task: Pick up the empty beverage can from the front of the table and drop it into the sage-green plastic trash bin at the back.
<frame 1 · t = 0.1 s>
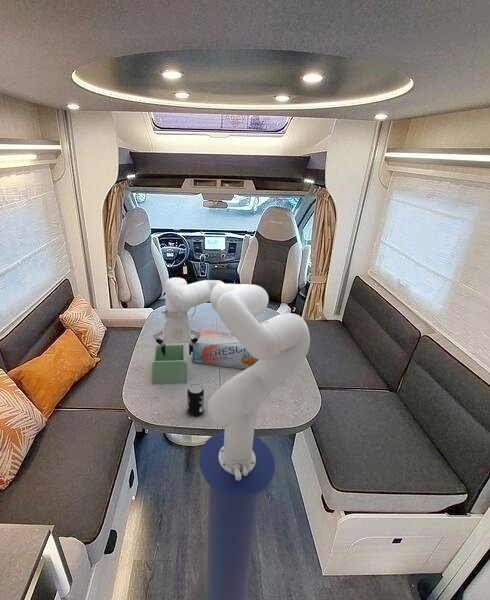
hand: (177, 353, 117), 28 cm above the table, tool pointing down, fingers open, 9 cm apart
beverage can: (195, 412, 128), on the table
soda box: (232, 361, 163), on the table
trash bin: (170, 373, 152), on the table
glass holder: (185, 324, 199), on the table
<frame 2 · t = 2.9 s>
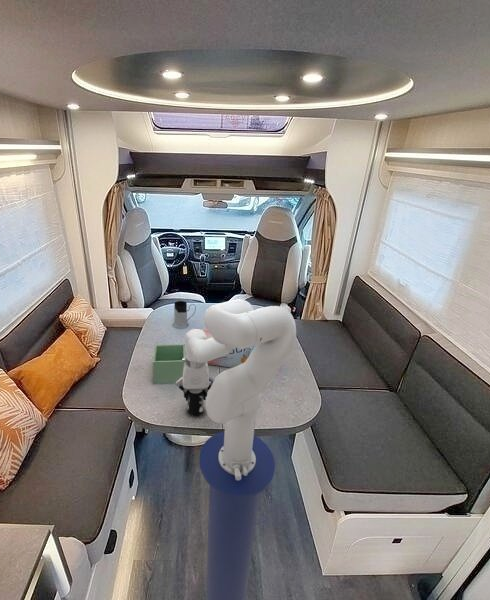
hand: (195, 397, 125), 7 cm above the table, tool pointing down, fingers closed on beverage can, 6 cm apart
beverage can: (195, 412, 128), on the table, touching gripper
everything else where it was.
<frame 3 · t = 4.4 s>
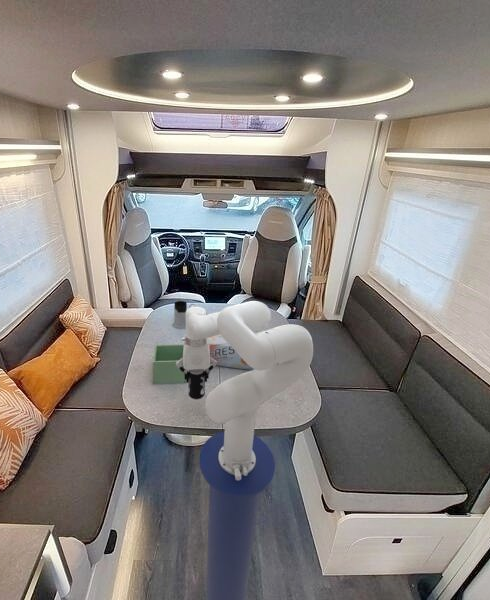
hand: (196, 379, 121), 16 cm above the table, tool pointing down, fingers closed on beverage can, 6 cm apart
beverage can: (196, 395, 124), point 9 cm above the table, touching gripper
everything else where it was.
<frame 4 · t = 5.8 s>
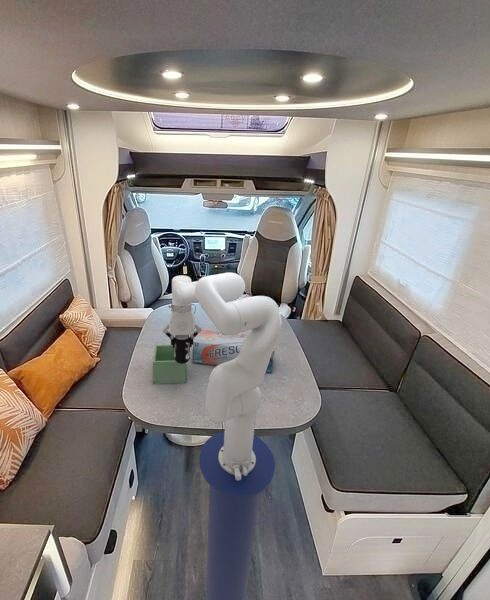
hand: (182, 345, 130), 24 cm above the table, tool pointing down, fingers closed on beverage can, 6 cm apart
beverage can: (182, 360, 133), point 17 cm above the table, touching gripper
everything else where it was.
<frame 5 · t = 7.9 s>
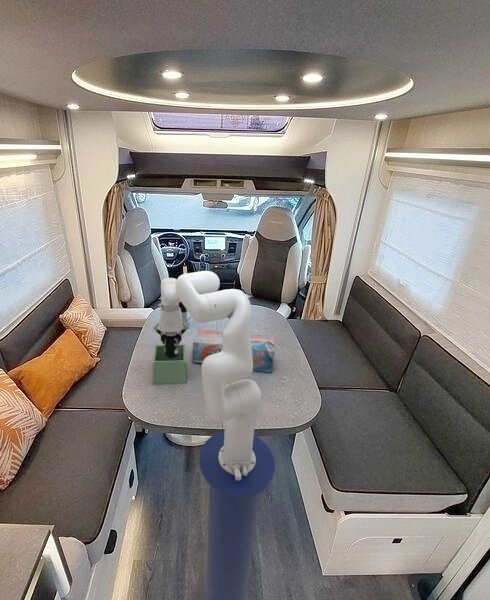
hand: (171, 341, 142), 19 cm above the table, tool pointing down, fingers closed on beverage can, 6 cm apart
beverage can: (171, 355, 145), point 12 cm above the table, touching gripper
everything else where it was.
when the fingers open (17 cm above the table, at t = 9.0 s): beverage can drops 9 cm, resting on trash bin.
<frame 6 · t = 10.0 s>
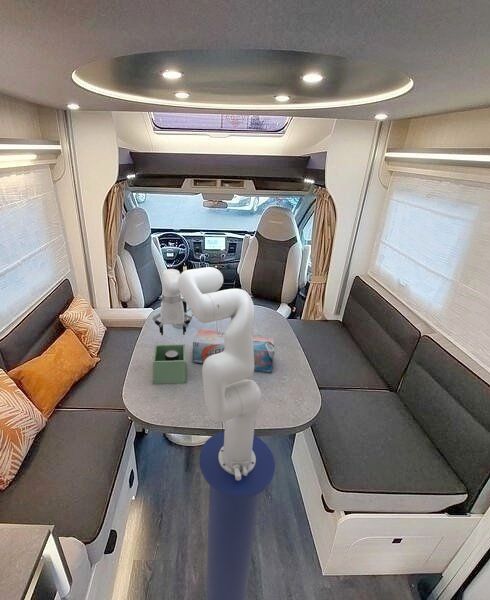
hand: (173, 333, 140), 24 cm above the table, tool pointing down, fingers open, 9 cm apart
beverage can: (172, 375, 149), point 1 cm above the table, touching trash bin
everything else where it was.
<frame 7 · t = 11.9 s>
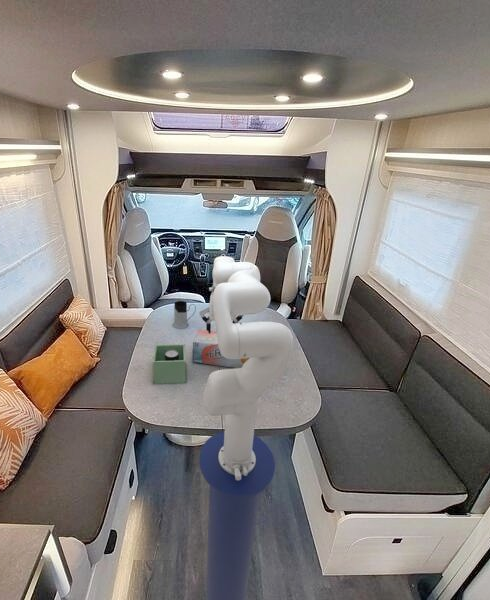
hand: (221, 331, 121), 34 cm above the table, tool pointing down, fingers open, 9 cm apart
nothing on the table moved.
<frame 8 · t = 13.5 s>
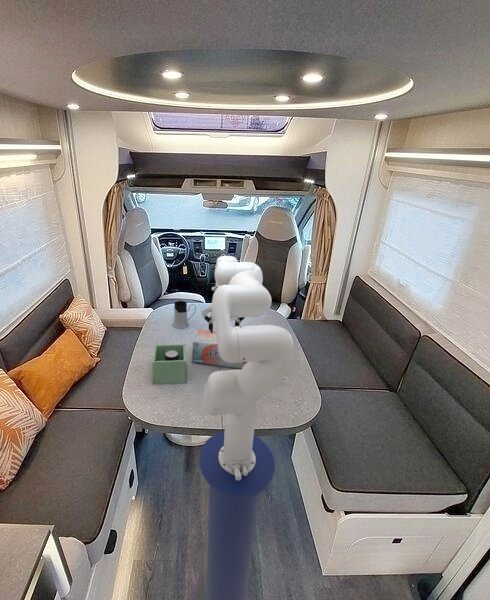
hand: (223, 331, 121), 34 cm above the table, tool pointing down, fingers open, 9 cm apart
nothing on the table moved.
at the end: beverage can inside the target area in the trash bin (2.4 cm from its centre), point 0.6 cm above the trash bin's base; the gripper is holding nothing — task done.
